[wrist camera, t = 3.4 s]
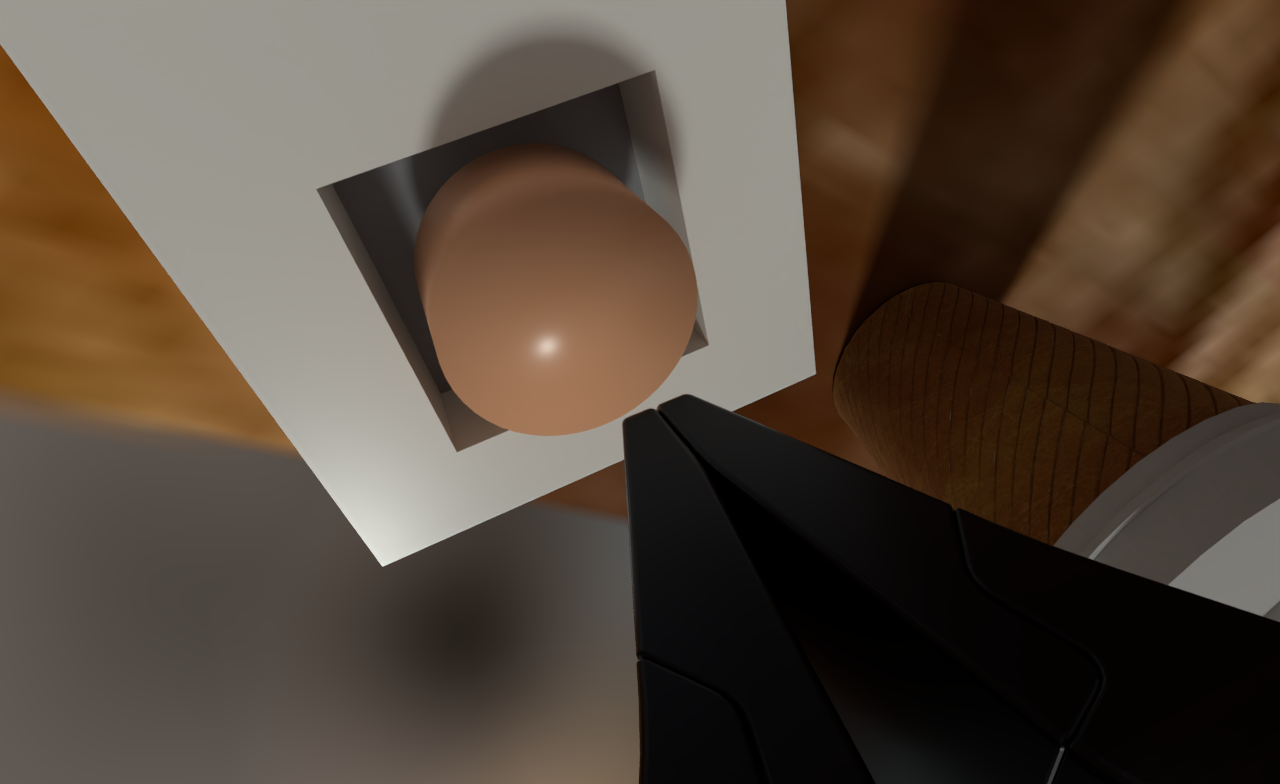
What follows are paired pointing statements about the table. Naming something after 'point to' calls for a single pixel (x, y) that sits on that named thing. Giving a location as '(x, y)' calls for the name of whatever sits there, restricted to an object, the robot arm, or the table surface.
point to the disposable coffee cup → (1070, 442)
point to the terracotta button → (551, 290)
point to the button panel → (427, 202)
